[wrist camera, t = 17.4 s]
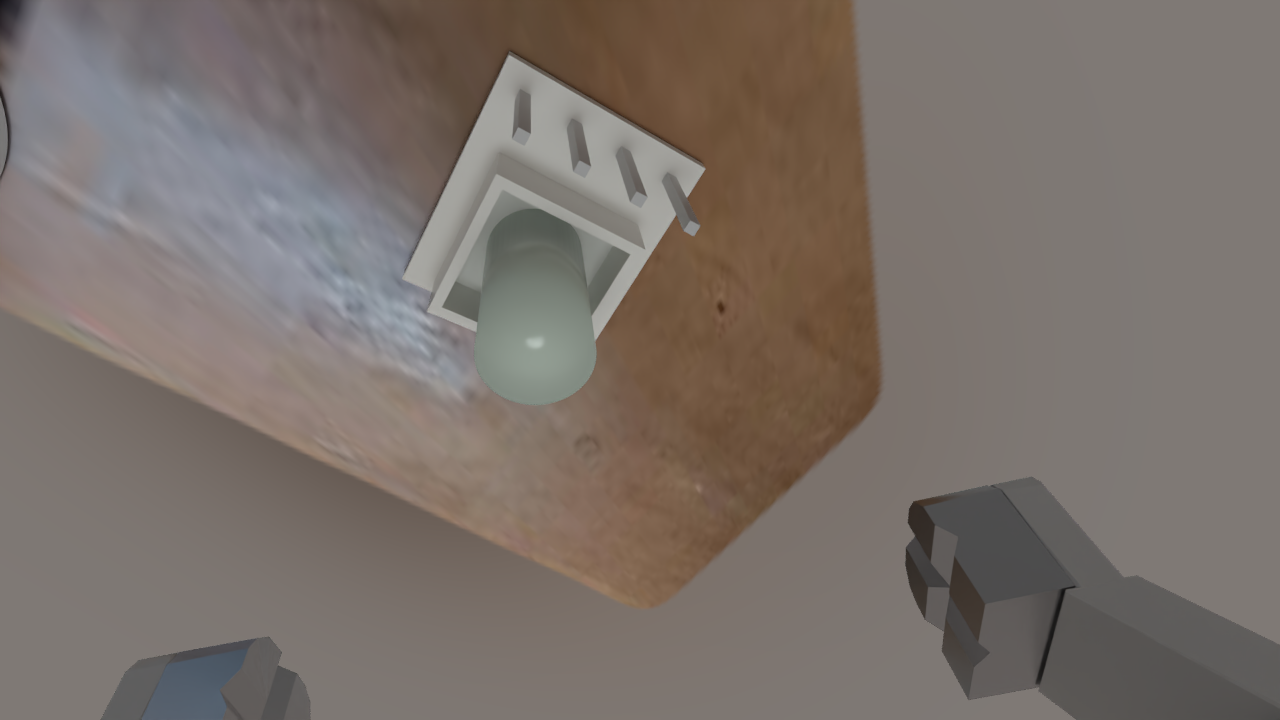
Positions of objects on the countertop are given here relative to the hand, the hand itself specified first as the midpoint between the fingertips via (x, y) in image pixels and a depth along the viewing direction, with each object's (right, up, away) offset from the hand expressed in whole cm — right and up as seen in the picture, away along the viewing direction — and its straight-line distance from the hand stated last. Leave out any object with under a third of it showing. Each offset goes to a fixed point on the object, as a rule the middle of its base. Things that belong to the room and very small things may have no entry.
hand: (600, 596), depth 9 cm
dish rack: (-5, +11, +33) cm, 35 cm away
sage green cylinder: (-6, +9, +33) cm, 35 cm away
